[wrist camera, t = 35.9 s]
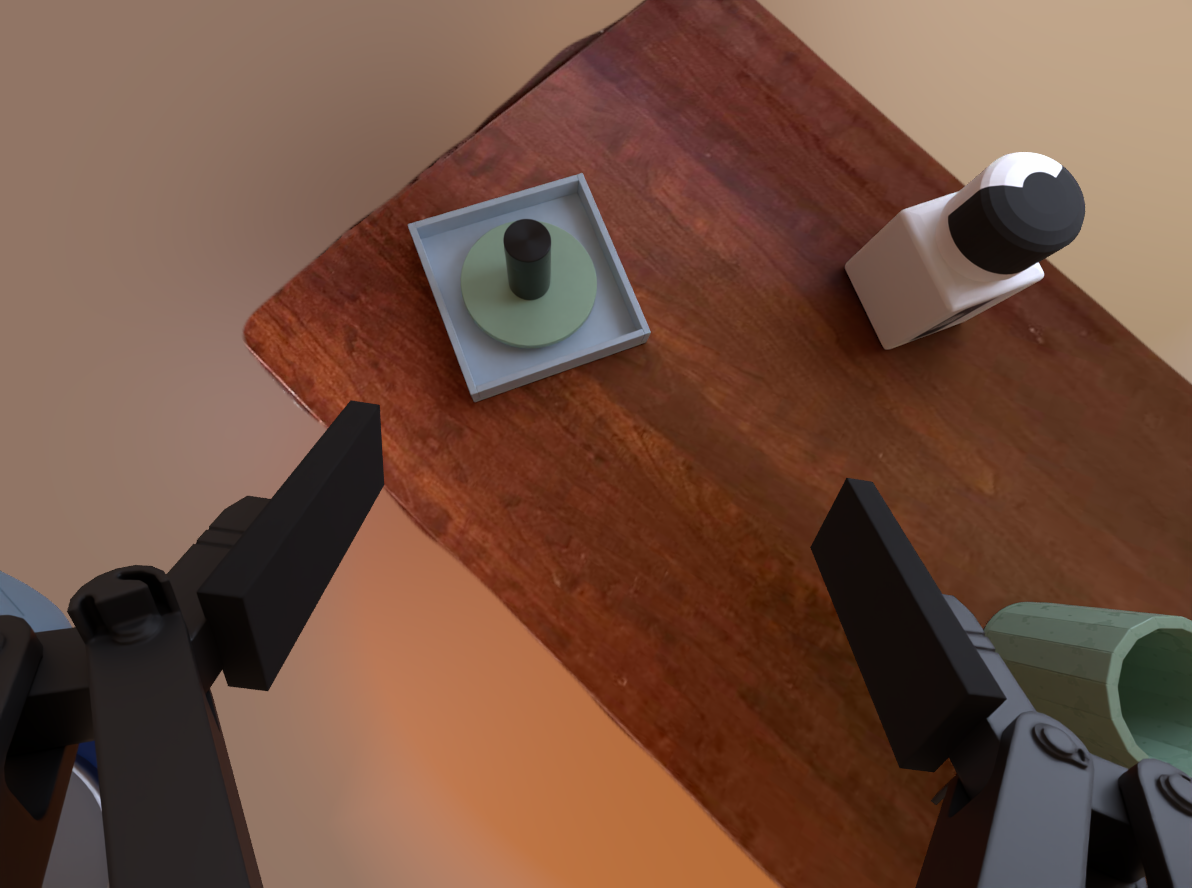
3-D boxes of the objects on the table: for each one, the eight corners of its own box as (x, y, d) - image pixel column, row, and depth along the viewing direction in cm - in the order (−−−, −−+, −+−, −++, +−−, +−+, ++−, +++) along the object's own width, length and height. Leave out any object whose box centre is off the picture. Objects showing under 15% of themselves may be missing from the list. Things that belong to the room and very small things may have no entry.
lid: (489, 370, 40) (479, 334, 34) (444, 251, 42) (425, 195, 35) (615, 326, 42) (628, 284, 35) (567, 213, 43) (571, 152, 37)
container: (964, 322, 45) (1130, 232, 32) (882, 352, 44) (1021, 271, 31) (921, 238, 46) (1065, 119, 34) (840, 265, 45) (958, 153, 32)
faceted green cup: (1014, 756, 39) (1162, 820, 30) (955, 631, 40) (1078, 654, 31) (1116, 702, 40) (1287, 746, 31) (1055, 582, 42) (1202, 591, 32)
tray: (474, 402, 40) (470, 395, 38) (413, 239, 42) (407, 224, 40) (646, 342, 42) (651, 332, 40) (580, 189, 44) (582, 172, 42)
